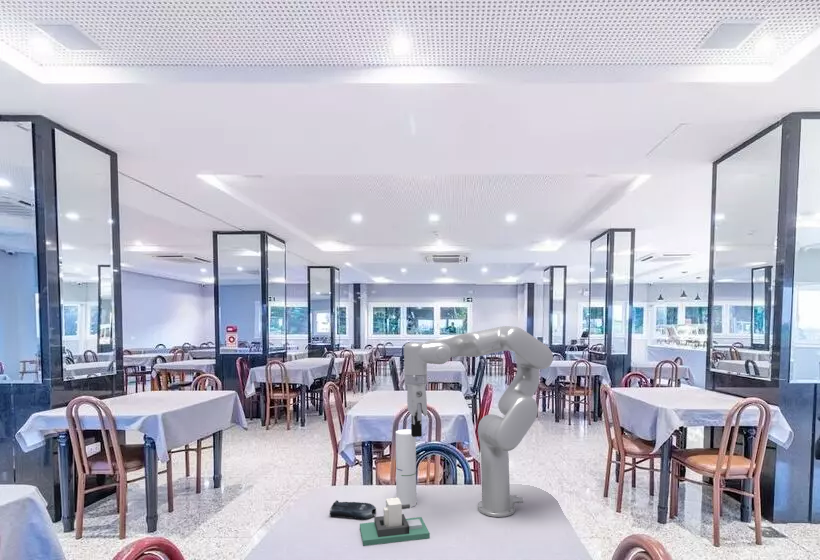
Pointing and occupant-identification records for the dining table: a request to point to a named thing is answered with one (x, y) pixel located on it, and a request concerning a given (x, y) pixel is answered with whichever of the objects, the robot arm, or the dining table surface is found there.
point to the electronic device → (352, 510)
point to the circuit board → (393, 531)
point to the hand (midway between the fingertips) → (416, 435)
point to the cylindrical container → (406, 467)
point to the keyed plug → (394, 512)
